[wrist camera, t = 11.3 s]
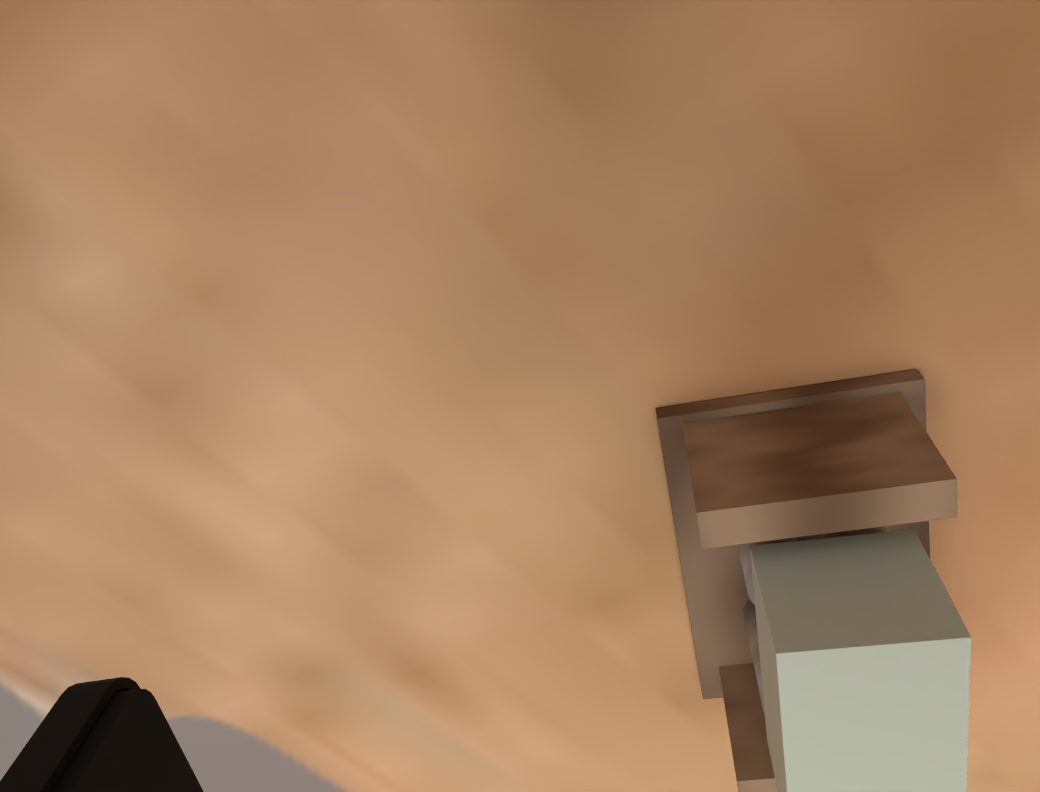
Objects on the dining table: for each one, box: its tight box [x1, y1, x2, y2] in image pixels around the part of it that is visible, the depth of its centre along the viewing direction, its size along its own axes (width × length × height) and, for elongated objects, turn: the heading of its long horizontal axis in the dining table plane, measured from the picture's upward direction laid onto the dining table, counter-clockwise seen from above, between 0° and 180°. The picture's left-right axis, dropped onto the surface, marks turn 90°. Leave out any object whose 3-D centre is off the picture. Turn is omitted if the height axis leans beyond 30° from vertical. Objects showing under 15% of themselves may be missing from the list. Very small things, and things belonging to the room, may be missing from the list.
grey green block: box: [750, 530, 971, 792], centre depth 35 cm, size 6×10×6 cm, turn 10°
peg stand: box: [656, 369, 957, 792], centre depth 40 cm, size 11×16×8 cm
